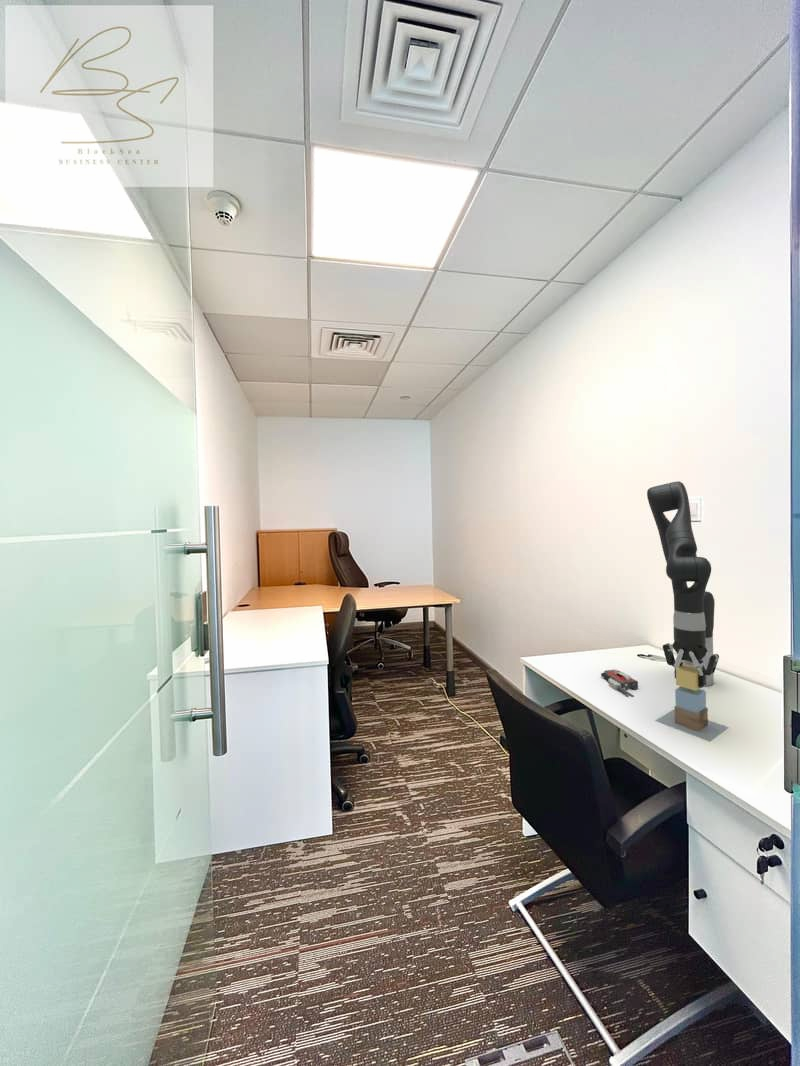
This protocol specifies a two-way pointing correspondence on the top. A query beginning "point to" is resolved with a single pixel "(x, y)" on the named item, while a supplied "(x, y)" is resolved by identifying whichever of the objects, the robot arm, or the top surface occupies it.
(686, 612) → the robot arm
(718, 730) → the slate board
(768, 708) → the top surface
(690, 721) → the walnut brick
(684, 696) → the blue brick
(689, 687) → the ochre brick
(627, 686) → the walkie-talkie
